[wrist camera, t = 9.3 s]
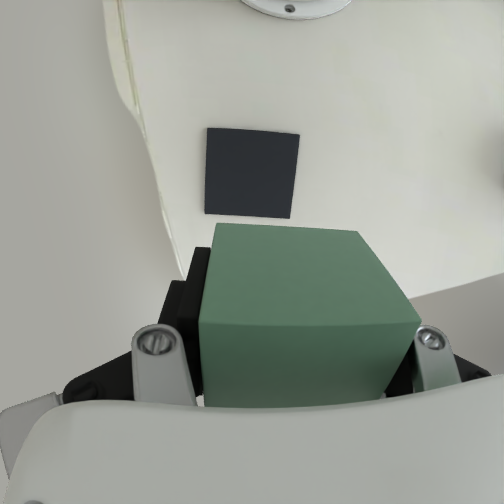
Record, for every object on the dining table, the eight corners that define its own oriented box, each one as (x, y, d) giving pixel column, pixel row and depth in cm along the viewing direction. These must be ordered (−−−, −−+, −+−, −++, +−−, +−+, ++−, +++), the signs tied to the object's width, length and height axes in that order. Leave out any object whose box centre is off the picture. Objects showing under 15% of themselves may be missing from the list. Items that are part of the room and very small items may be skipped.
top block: (216, 222, 10) (197, 321, 6) (357, 230, 10) (423, 320, 6) (215, 332, 12) (207, 437, 8) (329, 334, 13) (359, 430, 8)
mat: (207, 127, 24) (207, 128, 24) (299, 134, 25) (300, 135, 25) (204, 212, 28) (204, 213, 28) (289, 217, 29) (289, 218, 28)
